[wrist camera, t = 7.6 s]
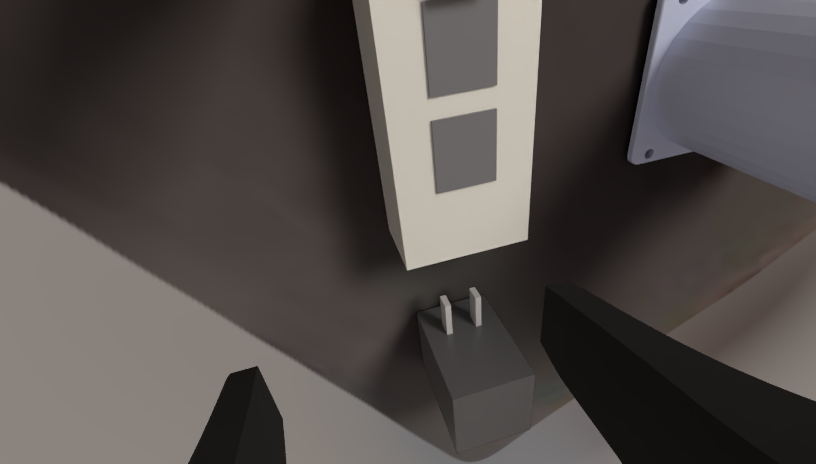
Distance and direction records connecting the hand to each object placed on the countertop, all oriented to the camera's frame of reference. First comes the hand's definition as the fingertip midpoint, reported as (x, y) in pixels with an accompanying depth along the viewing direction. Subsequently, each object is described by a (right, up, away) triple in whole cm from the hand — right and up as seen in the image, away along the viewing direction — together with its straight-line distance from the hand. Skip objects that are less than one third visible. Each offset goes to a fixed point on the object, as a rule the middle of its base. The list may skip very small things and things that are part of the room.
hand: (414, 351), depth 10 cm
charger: (+2, -3, +14) cm, 15 cm away
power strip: (+1, +12, +5) cm, 13 cm away
